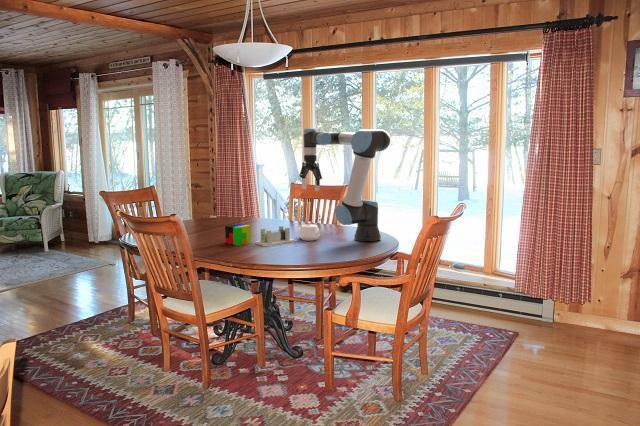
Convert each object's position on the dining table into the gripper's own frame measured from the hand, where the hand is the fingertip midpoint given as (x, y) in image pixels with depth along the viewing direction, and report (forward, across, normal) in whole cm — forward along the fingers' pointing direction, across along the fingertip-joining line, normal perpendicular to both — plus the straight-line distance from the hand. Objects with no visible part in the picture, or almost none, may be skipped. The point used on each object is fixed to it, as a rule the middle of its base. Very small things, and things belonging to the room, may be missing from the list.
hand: (310, 190), depth 315 cm
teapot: (+27, -13, +10) cm, 32 cm away
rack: (+27, -9, +31) cm, 42 cm away
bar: (+26, -9, +31) cm, 41 cm away
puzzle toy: (+27, +3, +48) cm, 55 cm away
